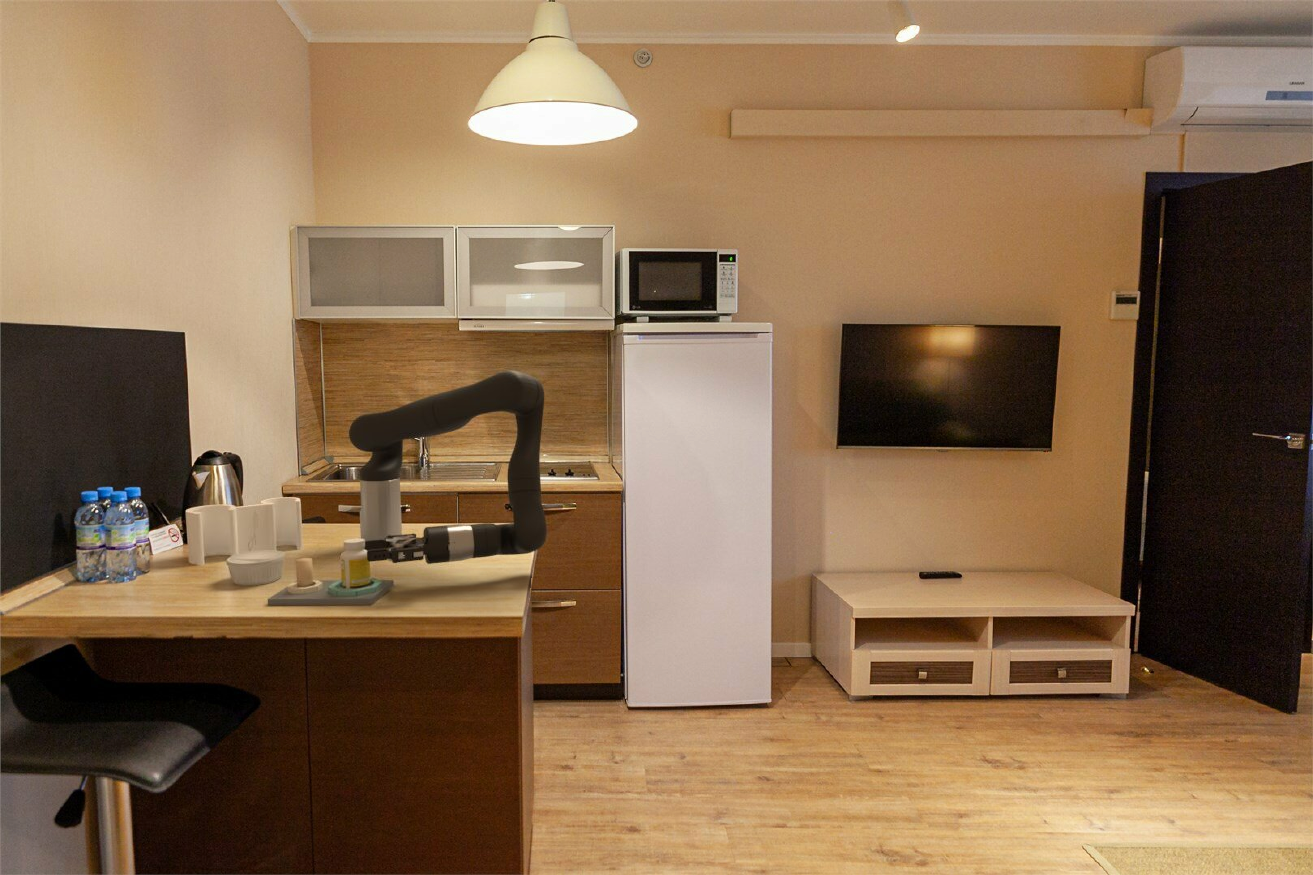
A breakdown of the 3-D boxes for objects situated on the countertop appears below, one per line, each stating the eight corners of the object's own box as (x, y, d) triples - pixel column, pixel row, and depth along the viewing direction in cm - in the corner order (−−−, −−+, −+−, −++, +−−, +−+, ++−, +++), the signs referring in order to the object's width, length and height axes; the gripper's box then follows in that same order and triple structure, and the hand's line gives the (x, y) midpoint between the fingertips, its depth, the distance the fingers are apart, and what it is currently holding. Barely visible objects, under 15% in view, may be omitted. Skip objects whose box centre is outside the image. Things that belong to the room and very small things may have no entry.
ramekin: (228, 590, 172) (226, 565, 171) (227, 577, 182) (225, 553, 181) (287, 583, 177) (286, 558, 177) (283, 570, 187) (282, 547, 186)
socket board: (267, 605, 162) (265, 568, 161) (297, 586, 174) (295, 551, 174) (372, 604, 161) (370, 568, 161) (393, 585, 174) (392, 551, 174)
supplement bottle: (376, 586, 170) (374, 538, 169) (359, 593, 164) (356, 544, 164) (353, 584, 171) (351, 536, 170) (335, 591, 166) (333, 542, 165)
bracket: (295, 542, 214) (292, 495, 213) (307, 549, 207) (305, 500, 206) (184, 558, 198) (181, 508, 197) (193, 566, 191) (190, 514, 190)
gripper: (443, 519, 180) (362, 525, 174) (453, 532, 167) (367, 540, 161) (444, 553, 181) (364, 561, 175) (454, 569, 168) (368, 578, 162)
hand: (365, 551), depth 168 cm, fingers open, 8 cm apart
